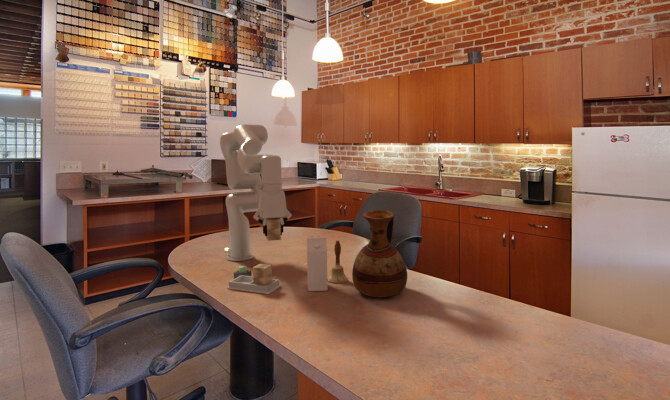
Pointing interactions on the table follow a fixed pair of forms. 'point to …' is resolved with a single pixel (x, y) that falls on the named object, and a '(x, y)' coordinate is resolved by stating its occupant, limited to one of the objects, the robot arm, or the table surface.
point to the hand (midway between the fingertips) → (273, 234)
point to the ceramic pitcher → (379, 259)
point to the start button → (242, 269)
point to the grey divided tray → (252, 285)
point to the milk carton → (317, 264)
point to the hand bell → (337, 268)
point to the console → (247, 273)
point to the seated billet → (262, 274)
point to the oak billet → (273, 229)
